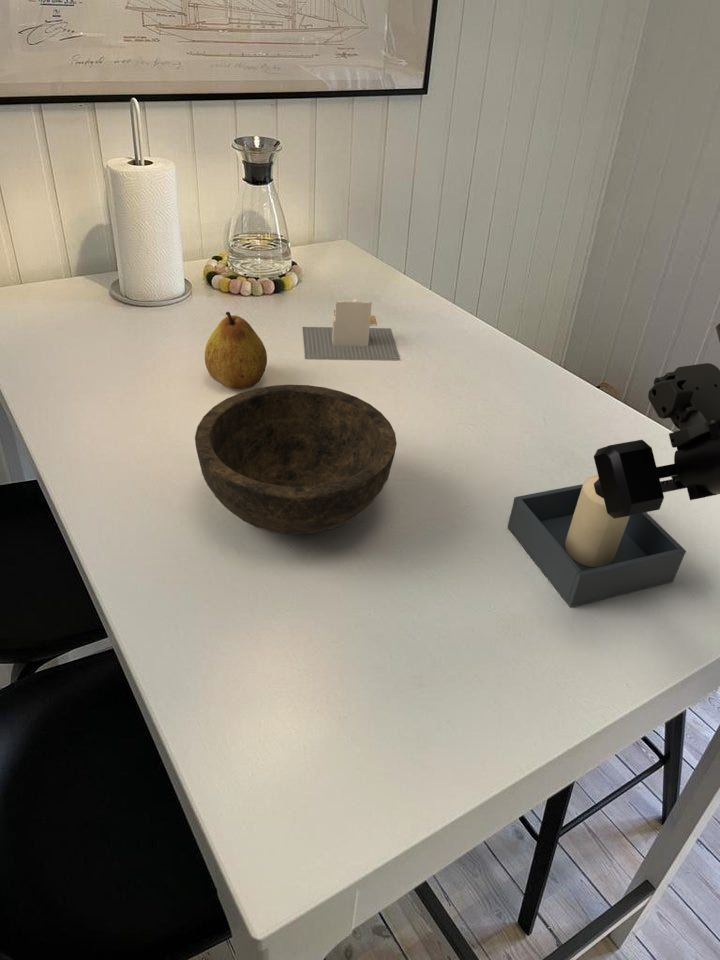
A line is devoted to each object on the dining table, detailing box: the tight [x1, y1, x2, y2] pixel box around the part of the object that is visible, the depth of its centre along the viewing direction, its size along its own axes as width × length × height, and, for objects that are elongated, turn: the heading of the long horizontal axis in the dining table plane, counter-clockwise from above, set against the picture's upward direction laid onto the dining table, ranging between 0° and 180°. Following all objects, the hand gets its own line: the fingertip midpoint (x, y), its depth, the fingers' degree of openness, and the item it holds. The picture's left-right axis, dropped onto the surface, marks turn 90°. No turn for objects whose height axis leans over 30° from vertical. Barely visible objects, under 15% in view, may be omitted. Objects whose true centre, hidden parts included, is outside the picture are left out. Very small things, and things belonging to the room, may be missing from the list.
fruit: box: [204, 311, 268, 391], centre depth 106 cm, size 9×9×12 cm
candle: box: [565, 474, 630, 567], centre depth 81 cm, size 6×6×10 cm
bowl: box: [194, 384, 397, 535], centre depth 85 cm, size 22×22×10 cm
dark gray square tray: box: [507, 483, 687, 608], centre depth 83 cm, size 13×13×4 cm
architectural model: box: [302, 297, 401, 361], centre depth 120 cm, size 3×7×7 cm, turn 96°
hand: (634, 481), depth 75 cm, fingers open, 9 cm apart
